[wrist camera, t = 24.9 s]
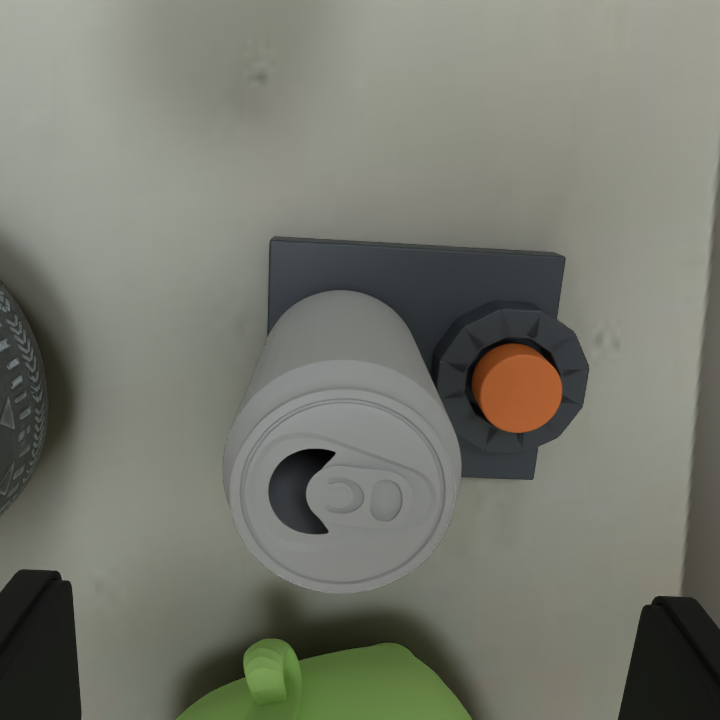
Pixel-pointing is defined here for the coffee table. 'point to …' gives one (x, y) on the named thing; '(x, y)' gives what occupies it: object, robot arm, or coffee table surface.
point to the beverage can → (341, 449)
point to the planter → (19, 401)
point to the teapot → (330, 687)
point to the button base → (452, 324)
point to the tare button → (516, 388)
